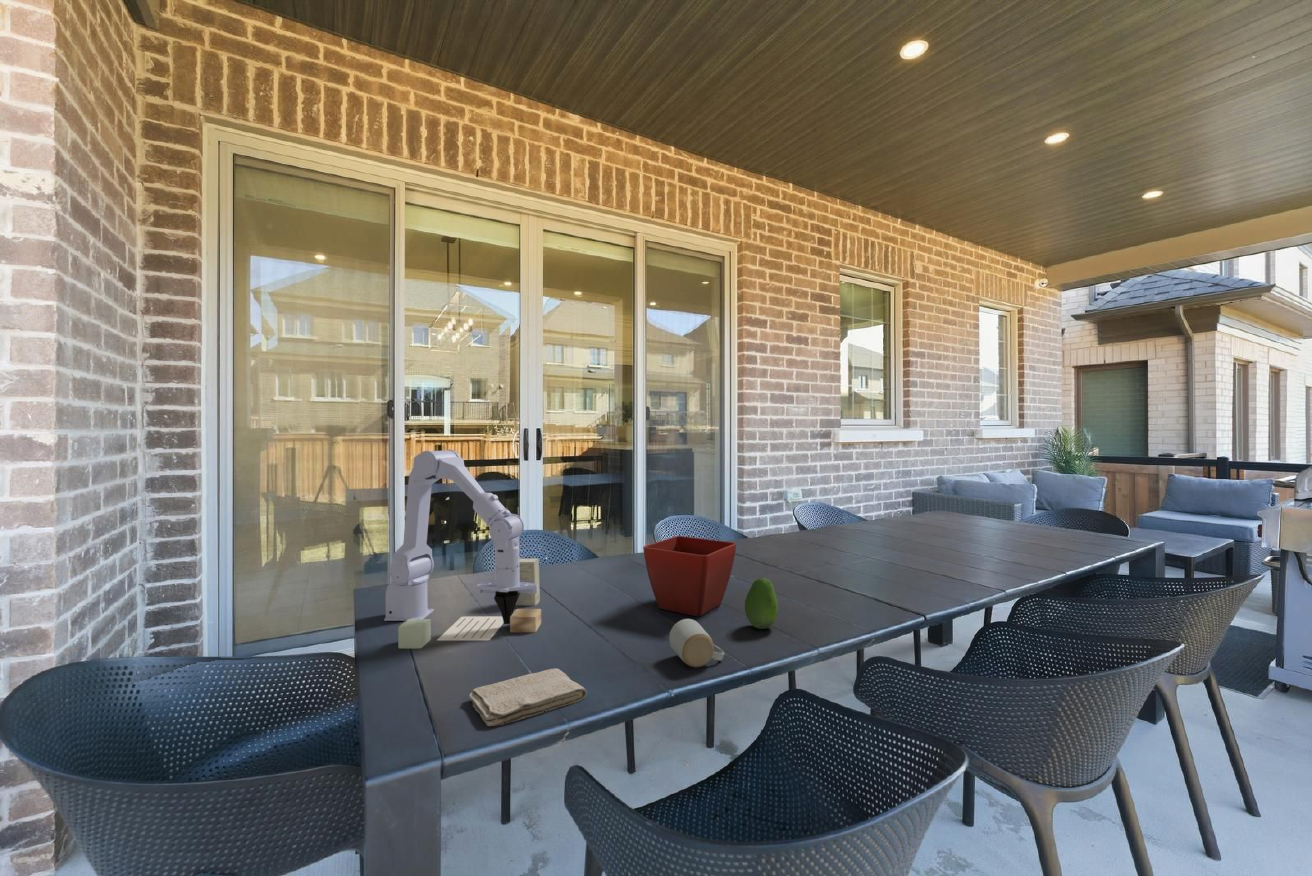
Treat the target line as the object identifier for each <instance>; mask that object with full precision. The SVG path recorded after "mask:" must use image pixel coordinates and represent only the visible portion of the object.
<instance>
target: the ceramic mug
mask: <svg viewBox="0 0 1312 876" xmlns="http://www.w3.org/2000/svg"><path fill="white" fill-rule="evenodd" d="M668 638H669V639H668V640H669V641H668V642H669V645H670V647H671V650H673V652H674V653H675V654H676V655H677V656H678V657H679V658H680V660H681V661H682V662H683V663H684V664H686V665H687V666H689V667H692V668H702V667H704V666H706V665H707V664H708V663H709V662H710V661H711V660H715V661H720V662H721V661H722V660H723V659H724V657H725V652H724V650H723V649H721V648H720V647H719V646H717V645H716V644H714V642H713V639H712V637H711V636H710V635H709V633H708V632H706V630H705V629H704V628H703V627H702V626H701V624H700V623H699V622H698V621H696V620H695V619H691V618H683V619H681V620H679V621H677V622H676V623H674V625H673V626H672V628H671V630H670V631H669V637H668Z"/></svg>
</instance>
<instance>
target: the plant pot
mask: <svg viewBox="0 0 1312 876" xmlns="http://www.w3.org/2000/svg"><path fill="white" fill-rule="evenodd" d="M642 549H643V556H644V562H645V565H646V572H647V574H648V578H649V582H650V586H651V589H652V593H653V596H654V598H655V600H656V603H657V606H658V609H661V610H666V611H670V612H675V613H680V614H685V615H690V616H694V617H702V616H703V615H705V614H707V613H709V612H711V611H713V610H714V609H715V608H717V607H719V606H720V605H721V604H722V602H723V599H724V596H725V594H726V591H727V588H728V584H729V581H730V577H731V575H732V570H733V566H734V562H735V556H736V551H737V543H736V542H733V541H732V542H731V541H730V542H729V541H724V540H722V541H721V540H715V539H709V538H708V539H707V538H699V537H690V536H684V535H676V536H673V537H670V538H666V539H663V540H660V541H657V542H654V543H650V544H647V545H644V546H643V548H642Z"/></svg>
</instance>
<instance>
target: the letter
mask: <svg viewBox="0 0 1312 876" xmlns="http://www.w3.org/2000/svg"><path fill="white" fill-rule="evenodd" d="M503 624H504V622H503V617H502V615H501V616H500V615H499V616H496V615H495V616H487V615H486V616H461V617H459V618H458V619H457V620H456V621H455V622H454V624H452V625H451V626H450V627H449V628H448V629H447V630H445V632H444V633H443V634H442V635H440V636H439V637H438V638H437V639H436V641H443V642H444V641H491V639H492V638H493V637H494V635H495V634H496V633H497V632H498V630H499V629H500V628H501V626H502V625H503Z"/></svg>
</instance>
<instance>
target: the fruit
mask: <svg viewBox="0 0 1312 876" xmlns="http://www.w3.org/2000/svg"><path fill="white" fill-rule="evenodd" d="M778 603H779V602H778V599H777V595H776V592H775V588H774V585H773V583H772V581H771V580H770V579H769V578H766V577H765V578H764V577H760V578H757V579H756V580H755V581H754V582H753V583H752V584H751V587H750V588H749V591H748V593H747V594H746V597H745V600H744V612H745V615H746V618H747V621H749V623H750V624H751V625H752V626H753V627H754V628H756V629H758V630H765V629H766V630H767V629H768V628H770V627H771V626H772V625H774V623H775V622H776V620H777V616H778V612H779V604H778Z"/></svg>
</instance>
